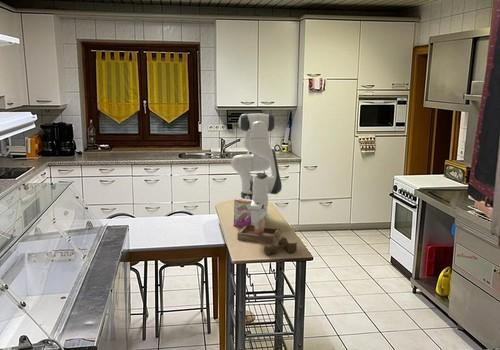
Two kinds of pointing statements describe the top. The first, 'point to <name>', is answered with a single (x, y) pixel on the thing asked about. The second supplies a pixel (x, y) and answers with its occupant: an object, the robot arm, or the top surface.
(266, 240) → the tray
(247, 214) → the candy bar box
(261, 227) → the peach rounded capsule
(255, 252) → the top surface
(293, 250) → the kendama
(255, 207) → the robot arm
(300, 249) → the top surface
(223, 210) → the top surface
